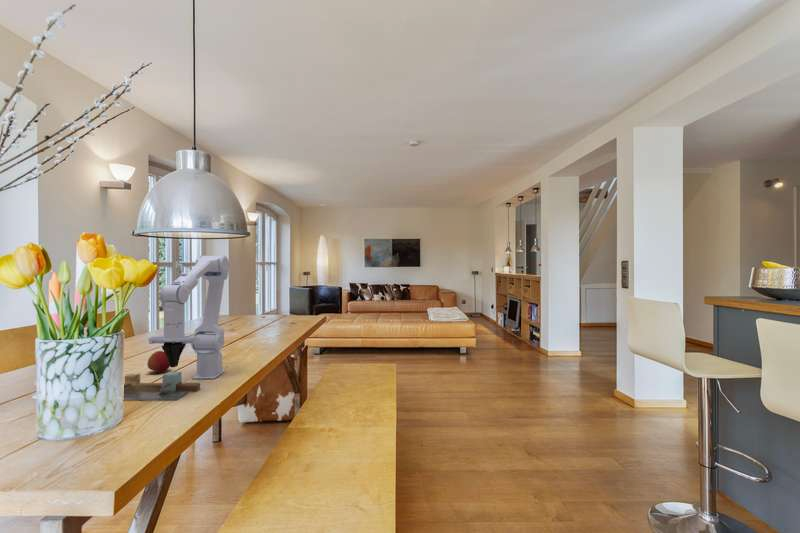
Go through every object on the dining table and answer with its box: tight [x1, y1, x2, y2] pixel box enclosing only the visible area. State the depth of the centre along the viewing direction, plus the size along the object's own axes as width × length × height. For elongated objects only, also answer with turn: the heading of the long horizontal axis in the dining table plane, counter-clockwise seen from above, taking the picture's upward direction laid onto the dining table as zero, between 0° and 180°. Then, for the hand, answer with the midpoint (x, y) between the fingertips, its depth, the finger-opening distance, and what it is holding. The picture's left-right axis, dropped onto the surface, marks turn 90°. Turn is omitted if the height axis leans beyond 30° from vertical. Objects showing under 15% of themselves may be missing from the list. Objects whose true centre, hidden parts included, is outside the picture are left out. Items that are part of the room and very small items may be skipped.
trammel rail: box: [123, 373, 201, 393], centre depth 128 cm, size 8×24×5 cm, turn 92°
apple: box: [147, 350, 171, 374], centre depth 151 cm, size 8×8×8 cm
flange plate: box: [123, 390, 189, 402], centre depth 125 cm, size 7×22×1 cm, turn 92°
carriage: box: [160, 371, 183, 393], centre depth 129 cm, size 9×4×5 cm, turn 2°
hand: (173, 366), depth 127 cm, fingers closed
